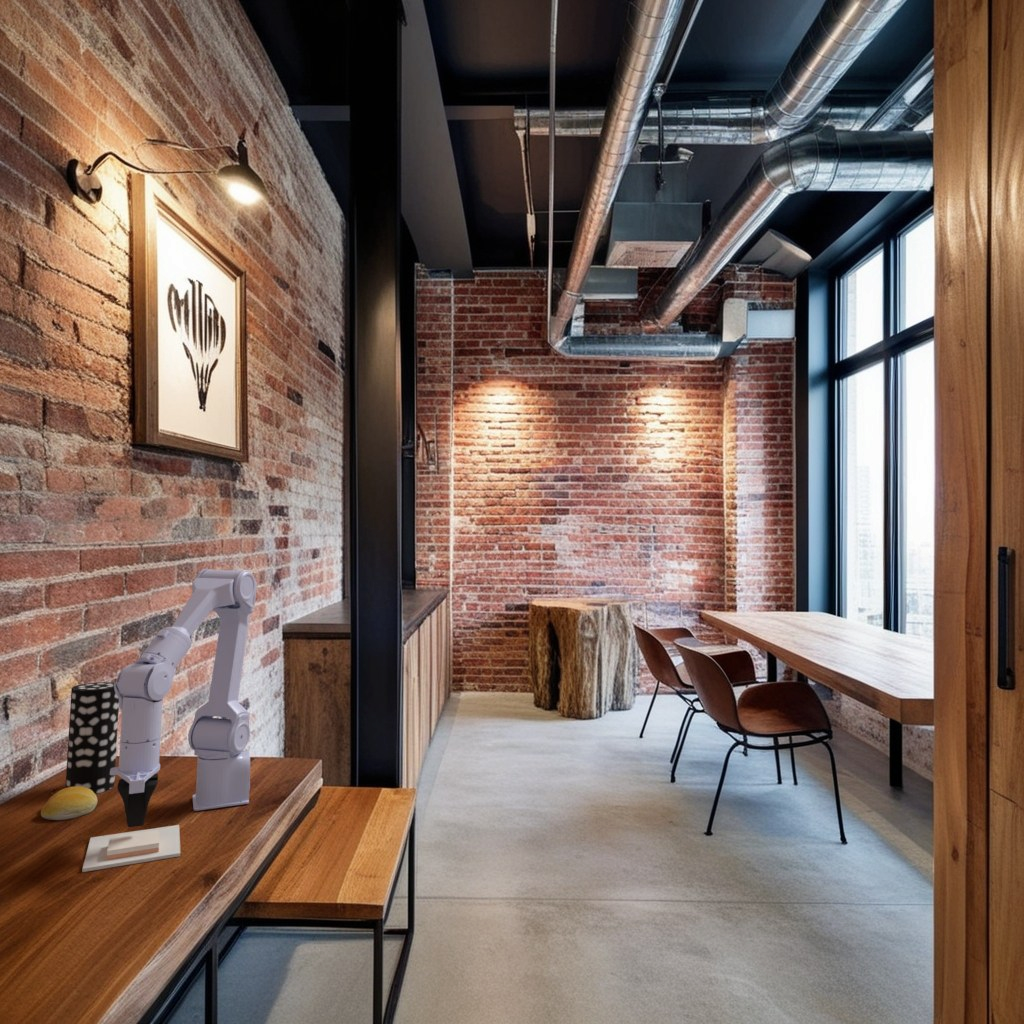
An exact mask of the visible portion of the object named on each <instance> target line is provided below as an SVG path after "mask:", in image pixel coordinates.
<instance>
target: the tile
mask: <svg viewBox="0 0 1024 1024" xmlns="http://www.w3.org/2000/svg"><path fill="white" fill-rule="evenodd" d="M156 852H159V830H154V831H148V832H141V833H134V834H127V835H120V836H113V837H110V839H109V844H108V849H107V860H112V859H118V858H124V857H131V856H137V855H143V854H150V853H156Z"/></svg>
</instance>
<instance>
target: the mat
mask: <svg viewBox="0 0 1024 1024" xmlns="http://www.w3.org/2000/svg"><path fill="white" fill-rule="evenodd" d="M154 830H159V852H156V853H150V854H143V855H137V856H131V857H124V858H118V859H112V860H107V849H108V844H109V839H110V837H113V836H120V835H127V834H134V833H141V832H148V831H154ZM180 836H181V835H180V824H175V825H168V826H162V827H156V828H148V829H140V830H134V831H127V832H120V833H114V834H113V833H112V834H105V835H100V836H99V835H98V836H93V837H92V836H91V837H90V839H89V843H88V847H87V850H86V852H85V853H86V855H85V857H84V858H85V859H84V861H83V864H82V865H83V866H82V872H81V873H85V872H92V871H97V870H104V869H110V868H117V867H122V866H129V865H134V864H142V863H148V862H153V861H159V860H165V859H166V860H167V859H171V858H178V857H181V837H180Z"/></svg>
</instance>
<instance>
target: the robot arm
mask: <svg viewBox="0 0 1024 1024" xmlns="http://www.w3.org/2000/svg"><path fill="white" fill-rule="evenodd" d="M191 586H192V587H191V590H192V591H191V593H192V594H191V596H190V597H189V599H188V600H187V602H186V603H185V605H184V607H183V608H182V610H181V611H180V613H179V615H178V616H177V617H176V619H175V620H174V622H173V624H172V626H167V627H166V626H165V627H163V628H162V629H160V630H158V632H157V633H156V635H155V637H154V638H153V639H152V641H151V642H150V643H149V644H148V646H147V647H146V648H145V649H144V651H143V652H142V654H141V655H140V656H139V657H138V658H137V660H136V661H135V662H131V663H130V664H127V666H125V667H123V668H122V669H121V670H120V672H119V673H118V675H117V677H116V682H113V683H114V689H115V693H116V695H117V696H118V698H119V710H120V711H121V720H120V725H121V726H120V738H119V739H120V743H119V759H118V766H115V767H114V768H111V769H110V775H115V776H118V777H120V778H121V779H118V782H117V789H116V790H117V791H118V793H119V795H120V798H121V799H122V801H123V806H124V812H125V813H124V814H125V818H126V824H127V828H134V827H142V826H143V825H144V823H145V821H146V820H145V819H146V816H147V812H148V807H149V803H150V800H151V798H152V795H153V793H154V792H155V790H156V787H157V786H158V784H159V780H158V779H159V774H158V772H159V771H160V770H161V763H160V756H161V755H160V753H161V752H160V751H161V750H160V749H161V734H162V719H163V717H162V714H163V713H162V712H163V702H164V701H163V700H164V699H165V697H166V696H167V695H168V694H169V693H170V691H171V689H172V686H173V682H174V677H175V676H176V672H177V671H176V668H177V667H178V665H179V664H180V663H181V661H182V660H183V659H184V657H185V656H186V655H187V653H188V651H189V650H190V649H191V648H192V640H191V636H192V635H193V634H194V633H195V631H196V630H197V629H198V627H199V626H200V625H201V624H202V623H203V622H204V620H205V619H206V618H207V617H208V616H209V614H210V613H211V612H214V613H216V615H217V616H218V617H219V619H220V623H219V629H218V630H219V631H218V637H217V642H216V650H215V656H214V664H213V669H212V675H211V682H210V689H209V694H208V695H209V696H208V701H207V702H205V703H204V704H203V705H202V706H201V707H199V708H198V709H196V711H195V712H194V713H195V714H194V717H193V721H192V724H191V726H190V728H189V730H188V734H187V735H188V738H187V739H188V744H189V748H191V750H193V751H194V753H193V755H194V756H195V757H196V756H197V761H196V764H197V765H196V783H195V784H196V785H195V787H196V788H195V794H192V796H191V797H192V807H193V811H195V812H196V811H197V812H198V811H206V810H213V809H220V808H227V807H234V806H241V805H248V804H250V800H249V799H250V789H251V780H250V778H251V755H250V754H251V753H250V751H248V750H246V751H244V750H245V748H246V747H247V746H248V743H249V740H250V738H251V737H250V736H251V729H250V712H249V711H248V710H247V709H246V708H245V707H244V706H243V705H242V704H240V702H239V694H240V688H241V680H242V674H243V673H242V672H243V665H244V661H245V659H244V657H245V653H246V652H245V651H246V645H247V638H248V632H249V623H250V618H251V617H250V616H251V614H252V613H253V612H254V610H255V603H256V596H257V589H258V583H257V580H256V578H255V576H254V574H253V573H252V571H250V570H248V569H242V570H236V569H232V570H230V569H229V570H228V569H211V568H203V569H201V570H200V571H199V572H198V573H197V575H196V578H195V579H193V581H192V584H191ZM220 717H221V718H220Z"/></svg>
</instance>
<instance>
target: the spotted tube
mask: <svg viewBox="0 0 1024 1024" xmlns="http://www.w3.org/2000/svg"><path fill="white" fill-rule="evenodd" d="M114 683H115V682H112V681H111V682H108V681H107V682H106V681H105V682H91V683H90V682H89V683H82V684H78V685H73V686H72V687H71V691H70V709H69V710H70V711H69V722H68V724H69V725H68V737H67V738H68V739H67V740H68V741H67V753H66V755H67V757H66V768H65V769H66V770H65V786H64V788H68V787H75V786H80V787H85V788H88V789H91V790H92V791H93V792H94V793H95V794H97V795H98V794H100V793H104V792H106V791H109V790H111V789H113V787H115V780H116V775H110V769H111V768H114V767H116V759H117V744H118V728H119V727H118V724H119V710H120V707H119V698H118V696H117V695H116V693H115V689H114Z"/></svg>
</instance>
